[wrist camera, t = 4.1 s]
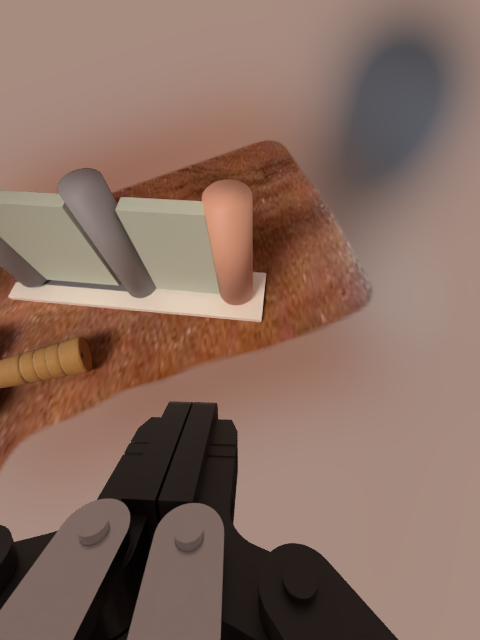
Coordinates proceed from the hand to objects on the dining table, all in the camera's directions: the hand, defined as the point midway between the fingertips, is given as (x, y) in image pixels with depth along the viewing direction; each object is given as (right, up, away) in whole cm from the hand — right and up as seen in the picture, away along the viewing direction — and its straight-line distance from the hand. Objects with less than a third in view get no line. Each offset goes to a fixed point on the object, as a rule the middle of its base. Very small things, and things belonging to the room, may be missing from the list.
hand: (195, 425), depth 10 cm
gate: (-2, +6, +18) cm, 19 cm away
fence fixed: (-13, +7, +19) cm, 24 cm away
